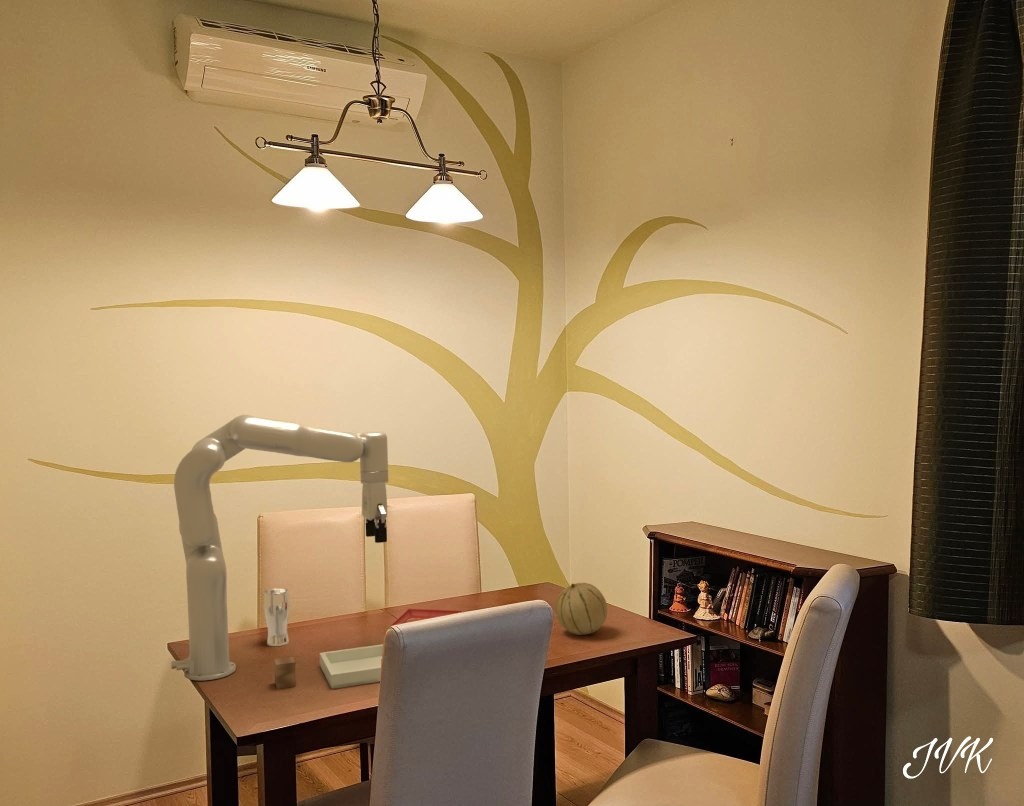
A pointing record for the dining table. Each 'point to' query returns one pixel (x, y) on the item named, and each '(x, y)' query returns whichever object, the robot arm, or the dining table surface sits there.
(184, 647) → the dining table surface
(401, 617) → the plant saucer
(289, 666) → the block
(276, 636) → the beer glass
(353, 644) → the dining table surface
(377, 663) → the tray
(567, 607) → the cantaloupe
